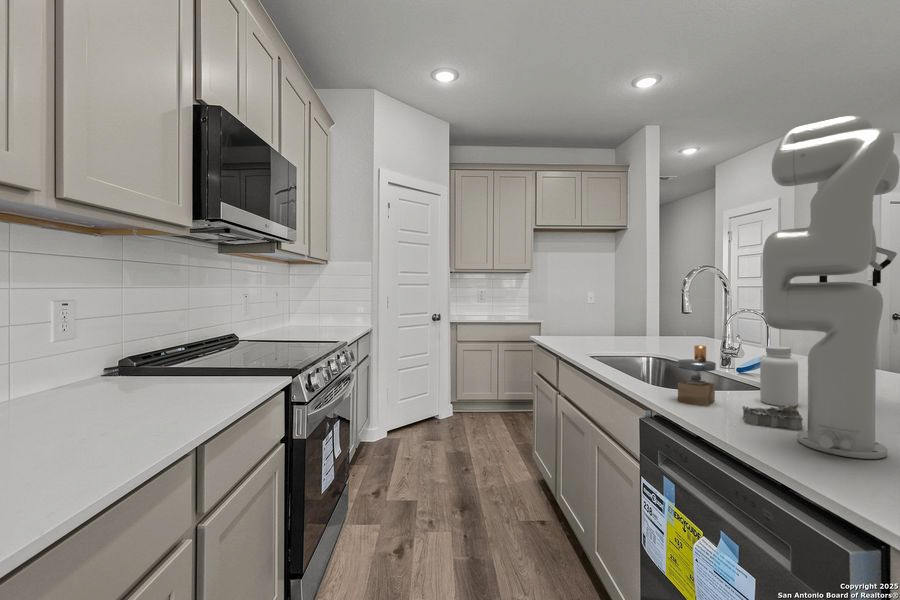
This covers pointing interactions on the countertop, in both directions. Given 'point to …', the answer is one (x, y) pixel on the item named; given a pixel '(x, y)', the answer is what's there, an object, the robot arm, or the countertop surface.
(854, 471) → the countertop surface
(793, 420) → the egg carton
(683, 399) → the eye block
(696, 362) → the grey knobbed disc
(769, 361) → the pill bottle
